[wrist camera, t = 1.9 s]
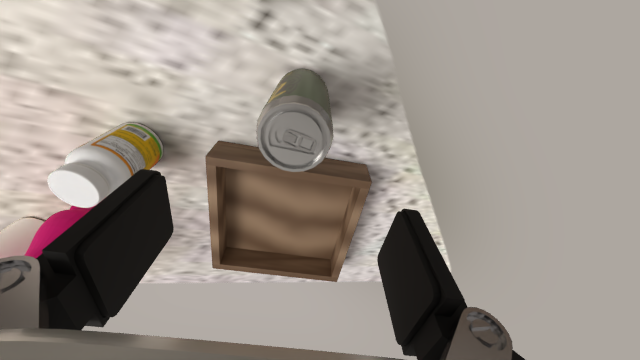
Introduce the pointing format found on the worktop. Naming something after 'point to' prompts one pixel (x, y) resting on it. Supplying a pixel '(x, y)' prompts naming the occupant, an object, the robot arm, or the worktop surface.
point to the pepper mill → (54, 228)
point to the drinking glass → (18, 237)
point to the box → (282, 213)
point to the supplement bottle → (105, 164)
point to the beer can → (296, 122)
